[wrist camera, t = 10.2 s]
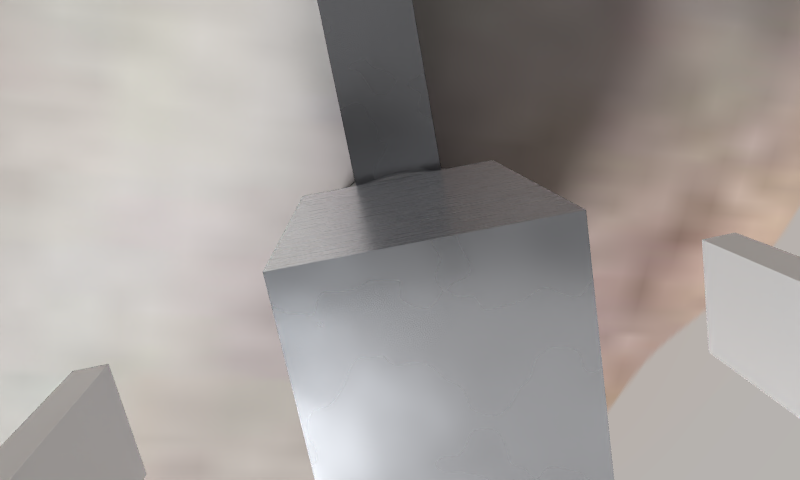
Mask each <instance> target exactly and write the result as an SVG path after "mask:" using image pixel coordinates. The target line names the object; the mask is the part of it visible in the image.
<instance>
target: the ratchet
mask: <svg viewBox="0 0 800 480" xmlns="http://www.w3.org/2000/svg"><path fill="white" fill-rule="evenodd" d="M317 1H318V6H319V11H320V15H321V20H322V25H323V30H324V35H325V39H326V44H327V49H328V54H329V58H330V63H331V68H332V73H333V78H334V82H335V87H336V92H337V97H338V102H339V106H340V111H341V116H342V121H343V126H344V130H345V135H346V140H347V145H348V150H349V154H350V159H351V164H352V169H353V173H354V178H355V182H354V183H353V184H352V185H351V186H350V187H353V186H358V185H364V184H369V183H374V182H379V181H385V180H390V179H395V178H401V177H406V176H411V175H416V174H422V173H427V172H432V171H437V170H443V169H444V168H441V167H440V161H439V155H438V149H437V143H436V137H435V132H434V126H433V120H432V114H431V108H430V102H429V96H428V91H427V85H426V79H425V73H424V67H423V61H422V56H421V50H420V44H419V38H418V32H417V26H416V21H415V15H414V9H413V3H412V0H317Z"/></svg>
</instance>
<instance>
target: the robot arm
mask: <svg viewBox="0 0 800 480" xmlns="http://www.w3.org/2000/svg"><path fill="white" fill-rule="evenodd" d="M702 246H703V264H704V281H705V298H706V315H707V331H708V349H709V353H710V354H712V355H714V356H715V357H716V358H717V359H719V360H720V361H722V362H723V363H724V364H725V365H727V366H728V367H730V368H731V369H732V370H734V371H735V372H737V373H738V374H739V375H741V376H742V377H743V378H745V379H746V380H747V381H749V382H751V383H752V384H753V385H755V386H756V387H757V388H758V389H760V390H761V391H762V392H764V393H765V394H767V395H768V396H769V397H771V398H772V399H774V400H775V401H776V402H778V403H779V404H780V405H782V406H783V407H784V408H786V409H787V410H789V411H790V412H791V413H793V414H794V415H796V416H797V417H798V418H800V257H799V256H796V255H793V254H791V253H788V252H786V251H783V250H780V249H778V248H775V247H772V246H770V245H767V244H764V243H762V242H759V241H756V240H754V239H751V238H748V237H746V236H743V235H740V234H737V233H732V234H727V235H722V236H717V237H712V238H708V239H703V240H702ZM145 476H146V471H145V468H144V465H143V462H142V460H141V457H140V454H139V451H138V448H137V445H136V442H135V439H134V436H133V433H132V430H131V428H130V425H129V422H128V419H127V416H126V413H125V410H124V407H123V404H122V401H121V399H120V396H119V393H118V390H117V387H116V384H115V381H114V378H113V375H112V372H111V369H110V367H109V364H105V365H100V366H95V367H91V368H86V369H81V370H76V371H72V372H71V373H70V374H69V375H68V376H67V378H66V379H65V380H64V381H63V382H62V383H61V384H60V385H59V386H58V387H57V388H56V389H55V390H54V391H53V392H52V393H51V394H50V395H49V396H48V397H47V398H46V399H45V401H44V402H43V403H42V404H41V405H40V406H39V407H38V408H37V409H36V410H35V411H34V412H33V413H32V414H31V415H30V416H29V417H28V418H27V419H26V420H25V421H24V423H23V424H22V425H21V426H20V427H19V428H18V429H17V430H16V431H15V432H14V433H13V434H12V435H11V436H10V437H9V438H8V439H7V440H6V441H5V442H4V443H3V444H2V446H1V447H0V480H144V478H145Z"/></svg>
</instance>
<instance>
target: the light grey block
mask: <svg viewBox="0 0 800 480" xmlns="http://www.w3.org/2000/svg"><path fill="white" fill-rule="evenodd" d="M263 274H264V278H265V282H266V286H267V290H268V294H269V298H270V302H271V306H272V310H273V314H274V318H275V322H276V326H277V330H278V334H279V338H280V342H281V346H282V350H283V354H284V358H285V362H286V366H287V370H288V374H289V378H290V382H291V386H292V390H293V394H294V398H295V402H296V406H297V410H298V414H299V418H300V422H301V426H302V430H303V434H304V438H305V442H306V446H307V450H308V454H309V458H310V462H311V466H312V470H313V474H314V478H315V480H614V474H613V464H612V454H611V446H610V435H609V426H608V416H607V406H606V397H605V387H604V378H603V368H602V359H601V349H600V339H599V330H598V320H597V311H596V301H595V292H594V282H593V273H592V263H591V253H590V244H589V234H588V225H587V215H586V210H585V209H583V208H581V207H580V206H578V205H576V204H574V203H572V202H570V201H568V200H566V199H565V198H563V197H561V196H559V195H557V194H555V193H553V192H552V191H550V190H548V189H546V188H544V187H542V186H540V185H538V184H537V183H535V182H533V181H531V180H529V179H527V178H525V177H524V176H522V175H520V174H518V173H516V172H514V171H512V170H510V169H509V168H507V167H505V166H503V165H501V164H499V163H497V162H496V161H494V160H490V161H485V162H480V163H474V164H469V165H464V166H458V167H453V168H448V169H443V170H437V171H432V172H427V173H422V174H416V175H411V176H406V177H401V178H395V179H390V180H385V181H379V182H374V183H369V184H364V185H358V186H353V187H348V188H343V189H337V190H332V191H327V192H322V193H316V194H311V195H306V196H303V197H302V199H301V200H300V202H299V204H298V206H297V208H296V210H295V212H294V214H293V216H292V218H291V219H290V221H289V223H288V225H287V227H286V229H285V231H284V233H283V235H282V237H281V238H280V240H279V242H278V244H277V246H276V248H275V250H274V252H273V254H272V256H271V258H270V259H269V261H268V263H267V265H266V267H265V269H264V271H263Z"/></svg>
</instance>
